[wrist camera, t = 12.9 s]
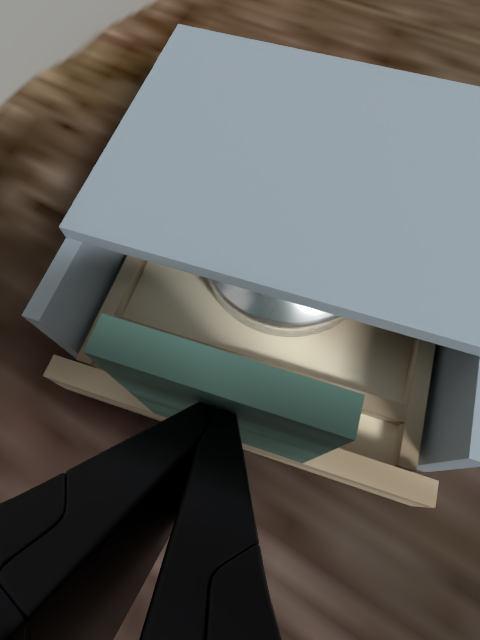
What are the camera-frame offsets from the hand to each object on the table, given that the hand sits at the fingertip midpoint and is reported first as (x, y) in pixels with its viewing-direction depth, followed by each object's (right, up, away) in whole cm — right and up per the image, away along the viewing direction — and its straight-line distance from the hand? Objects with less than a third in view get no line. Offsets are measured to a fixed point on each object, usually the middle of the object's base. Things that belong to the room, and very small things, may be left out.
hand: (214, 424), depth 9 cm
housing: (+2, +4, +9) cm, 11 cm away
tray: (+2, +3, +9) cm, 10 cm away
